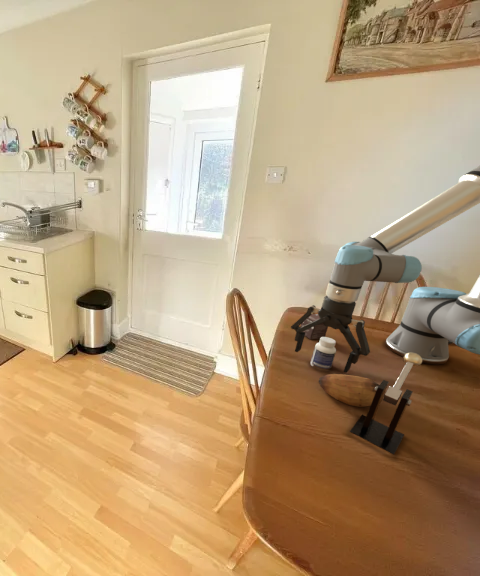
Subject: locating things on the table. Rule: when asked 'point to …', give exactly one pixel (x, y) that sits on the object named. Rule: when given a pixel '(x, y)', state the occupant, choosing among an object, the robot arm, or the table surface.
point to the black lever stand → (379, 432)
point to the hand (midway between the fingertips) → (320, 360)
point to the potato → (349, 388)
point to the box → (314, 328)
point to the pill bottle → (324, 353)
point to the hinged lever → (402, 378)
